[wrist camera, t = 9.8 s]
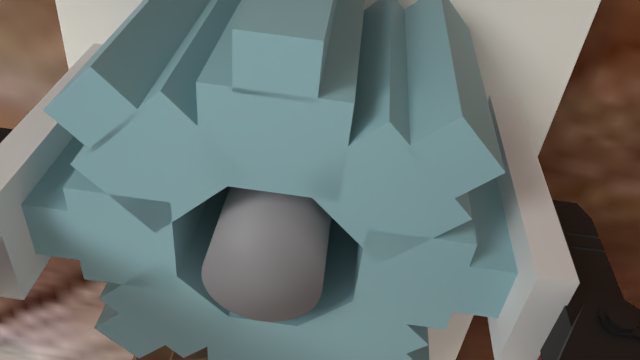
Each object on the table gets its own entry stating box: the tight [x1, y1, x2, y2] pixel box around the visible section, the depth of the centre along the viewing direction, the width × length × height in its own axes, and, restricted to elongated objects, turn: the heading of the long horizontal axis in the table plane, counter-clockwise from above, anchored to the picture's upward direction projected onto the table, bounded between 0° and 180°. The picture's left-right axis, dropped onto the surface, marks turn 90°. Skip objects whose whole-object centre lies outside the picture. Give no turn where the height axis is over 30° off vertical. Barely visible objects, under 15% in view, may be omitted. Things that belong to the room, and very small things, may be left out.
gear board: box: [55, 0, 601, 360], centre depth 19 cm, size 19×15×10 cm
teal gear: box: [21, 0, 518, 360], centre depth 14 cm, size 10×10×6 cm
